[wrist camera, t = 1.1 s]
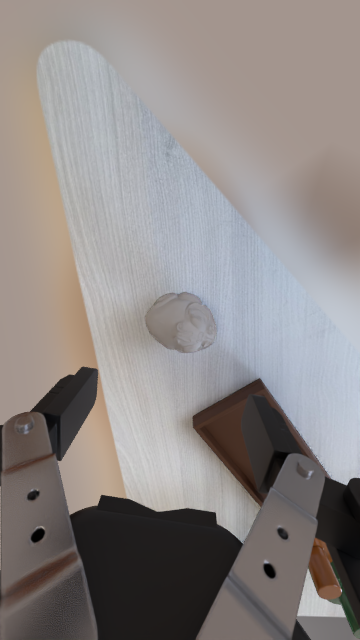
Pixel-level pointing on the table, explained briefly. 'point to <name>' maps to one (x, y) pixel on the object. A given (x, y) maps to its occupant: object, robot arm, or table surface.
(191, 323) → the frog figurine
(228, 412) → the tray
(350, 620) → the green bottle
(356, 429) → the table surface
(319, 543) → the amber bottle
